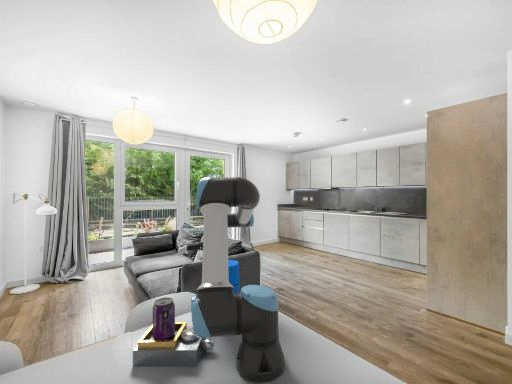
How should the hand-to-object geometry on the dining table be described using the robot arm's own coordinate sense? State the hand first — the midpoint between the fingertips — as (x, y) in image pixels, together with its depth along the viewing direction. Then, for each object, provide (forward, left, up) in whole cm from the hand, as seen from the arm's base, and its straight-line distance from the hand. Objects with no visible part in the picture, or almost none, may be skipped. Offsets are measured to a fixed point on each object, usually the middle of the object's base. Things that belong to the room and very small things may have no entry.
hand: (194, 252), depth 99 cm
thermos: (-10, -9, -30) cm, 33 cm away
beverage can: (-4, +17, -25) cm, 30 cm away
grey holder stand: (-8, +14, -30) cm, 34 cm away
